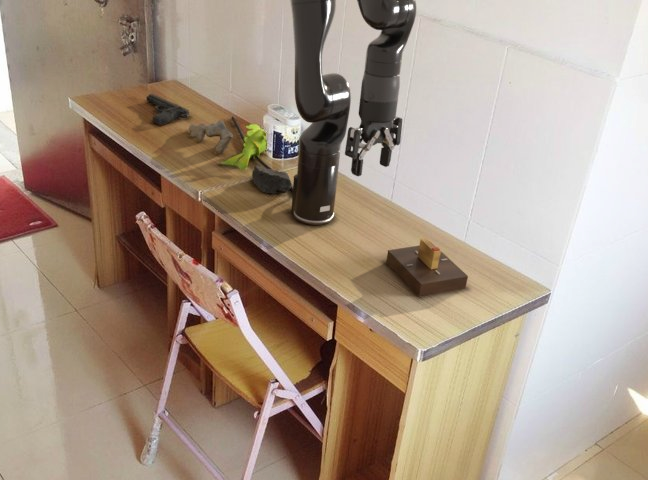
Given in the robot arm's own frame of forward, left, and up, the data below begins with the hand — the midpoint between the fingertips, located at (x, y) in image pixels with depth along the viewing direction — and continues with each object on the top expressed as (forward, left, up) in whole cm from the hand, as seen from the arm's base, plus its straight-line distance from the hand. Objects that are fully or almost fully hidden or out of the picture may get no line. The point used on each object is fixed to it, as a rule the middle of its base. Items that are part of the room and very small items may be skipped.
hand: (370, 170), depth 163 cm
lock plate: (+18, +1, -17) cm, 25 cm away
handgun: (-92, +8, -18) cm, 94 cm away
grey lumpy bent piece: (-65, +6, -18) cm, 68 cm away
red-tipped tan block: (+18, +1, -14) cm, 23 cm away
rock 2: (-33, +2, -18) cm, 38 cm away
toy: (-49, +10, -18) cm, 53 cm away
